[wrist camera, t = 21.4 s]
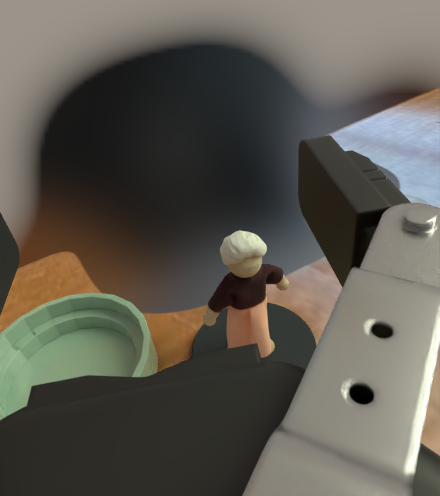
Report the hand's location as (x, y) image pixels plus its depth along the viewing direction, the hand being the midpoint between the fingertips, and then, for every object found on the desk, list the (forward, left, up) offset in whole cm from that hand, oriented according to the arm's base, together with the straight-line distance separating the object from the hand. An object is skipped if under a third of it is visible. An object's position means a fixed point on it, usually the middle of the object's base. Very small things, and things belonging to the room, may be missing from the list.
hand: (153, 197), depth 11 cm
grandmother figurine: (+3, +14, -25) cm, 28 cm away
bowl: (-13, +13, -25) cm, 31 cm away
